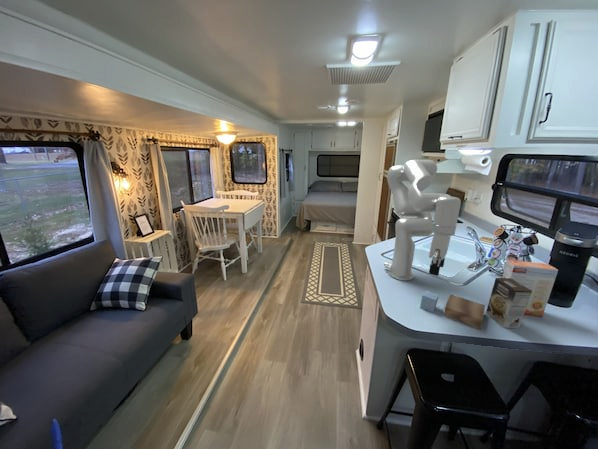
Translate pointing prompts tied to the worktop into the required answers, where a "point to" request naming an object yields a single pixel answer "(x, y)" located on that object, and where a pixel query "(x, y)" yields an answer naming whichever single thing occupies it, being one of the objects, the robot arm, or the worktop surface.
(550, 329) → the worktop surface
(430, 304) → the blue block
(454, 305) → the walnut base
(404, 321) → the worktop surface
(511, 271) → the cracker box
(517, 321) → the coffee box
